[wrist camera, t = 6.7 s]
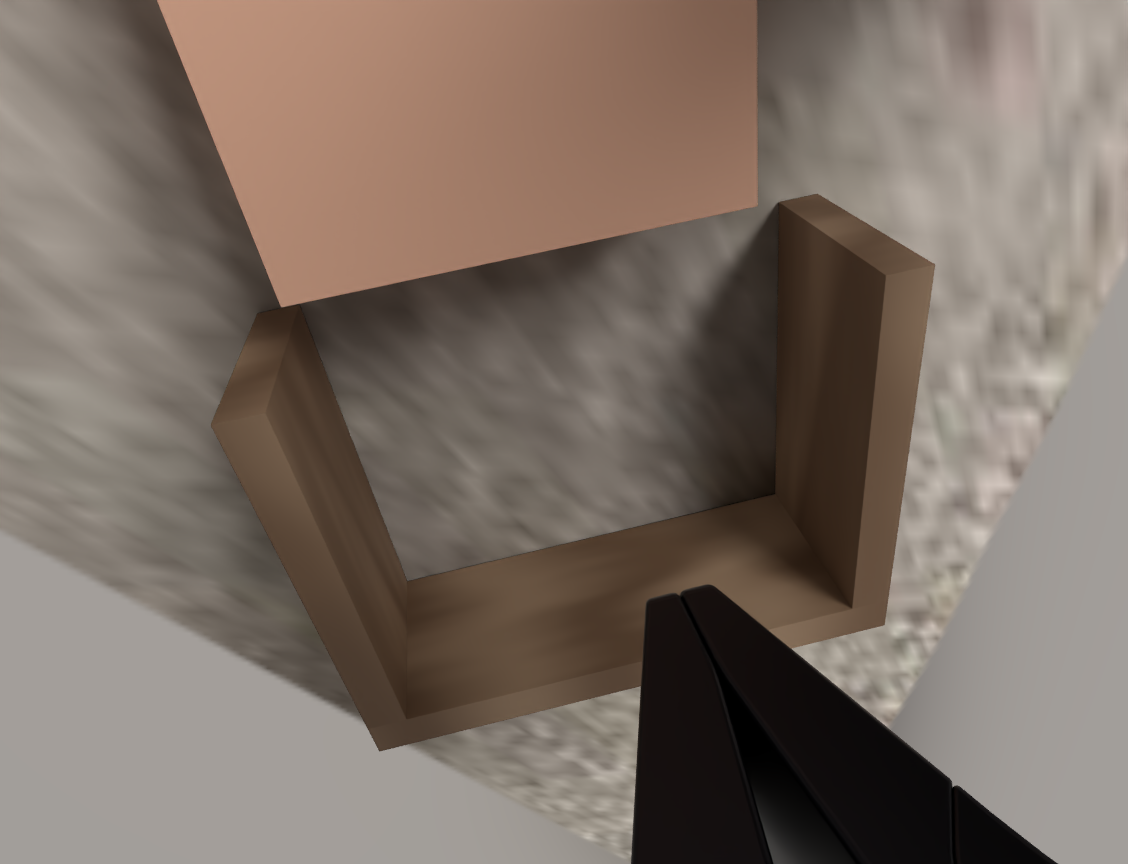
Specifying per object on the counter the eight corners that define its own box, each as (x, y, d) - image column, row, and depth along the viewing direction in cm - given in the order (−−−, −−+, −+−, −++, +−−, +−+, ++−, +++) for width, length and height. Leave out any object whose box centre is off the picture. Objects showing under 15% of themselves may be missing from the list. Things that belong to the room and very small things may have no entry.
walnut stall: (817, 193, 18) (935, 264, 14) (803, 510, 24) (884, 625, 20) (257, 313, 18) (210, 424, 13) (384, 610, 23) (379, 751, 19)
